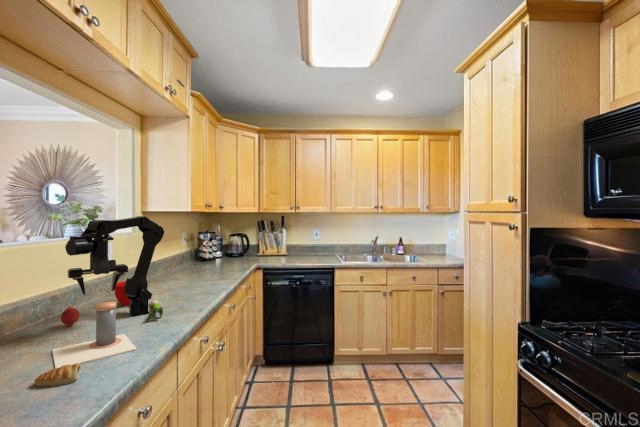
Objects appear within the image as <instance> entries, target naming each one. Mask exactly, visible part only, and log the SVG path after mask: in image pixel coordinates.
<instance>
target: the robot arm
mask: <svg viewBox="0 0 640 427" xmlns="http://www.w3.org/2000/svg"><path fill="white" fill-rule="evenodd" d="M135 227H137V228H138V230H139V231H140V232H141V233H142V241H143V245H142V249H141V252H140V254H139V258H138V261H137V263H136V267H135V270H134V273H133V276H132V277H130V278H126V280H125V281H126V284H125V286H124V288H125V289H124V293H125V294H126V295H127V298H128V299H130V300H131V303H130V304H129V306H128V312H129V314H130V315H131V316H132V317H136V316H141V315H147V314H148V315H149V314H150V311H149V301H150V300H152V297H153V293H152V292H151V291H149V290H148V287H149V286H148V284H149V283H148V280H147V277H148V276H147V275H148V273H149V269H150V265H151V262H152V260H153V256H154V254H155V249H156V247H157V246H158V244H159V243H160V242H162V239H163V237H164V235H165V230H164V228H163V226H161V225H159V224H158V223H157V222H155V221H154V220H153V221H152V220H151V219H150V218H148V217H147V216H143V215H142V216H141V215H139V216H138V215H137V216H134V217H126V218H120V219H115V220H109V219H92V220H90V221H89V222H88V224H87V227H86V228H85V230H83V232H82V233H81V235H80V236H74V235H73V236H69V240H67V242H66V244H65V251H66V253H67V254H66V255H69V256H79V255H80V256H81V255H88V254H89V268H88V269H85V268H84V269H83V268H82V267H74V268H69V269H68V270H67V278H68V279H72V280H74V281H77V283H78V285H79V288H80V290H81V293H82V295H83V296H86V290H85V283H84V282H85V281H84V277H83V275H84V276H85V275H93V274H94V275H96V276H97V275H99V276H100V275H103V274H105V275H106V274H107V275H108V274H110V273H111V272H112V281H111V291H112V292H115V291H114V289H115V286H116V284H117V283H118V281H119V280H120V278H121V276H124V275H125V274H126V273H129V266H127V264H126V263H119V264H118V263H117V261H116V259H110V260H109V241H114V239H115V238H114V237H112V236H111V235H110V234H112V233H115V232H116V231H118V230H122V229H128V228H129V229H130V228H135Z"/></svg>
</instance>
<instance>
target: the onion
mask: <svg viewBox="0 0 640 427" xmlns="http://www.w3.org/2000/svg"><path fill="white" fill-rule="evenodd" d="M80 315H81V314H80V311H79V310H78V309H77V308H75V307H74V306H73V304H72V305H69V306H68V307H67V308H66V309H65V310H64V311H63V312H61V315H60V322H61V323H62V324H63V325H64V326H68V327H72V326H74V324H76V323H77V322H78V321H79V319H80Z"/></svg>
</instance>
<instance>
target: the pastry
mask: <svg viewBox="0 0 640 427" xmlns="http://www.w3.org/2000/svg"><path fill="white" fill-rule="evenodd" d="M82 370H83V369H82V366H81V364H80V363H76V364H72V365H63V366H61V367H60V368H55V367H54V368H53V369H50V370H48V371H46V372H43V373H42V374H40V375H38V376H37V377H36V378H35V379H34V383H35V385H36V386H37V387H55V386H61V385H68V384H71V383H77V381H78V380H79V379H80V375H81V374H82V372H83V371H82Z"/></svg>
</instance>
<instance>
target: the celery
mask: <svg viewBox="0 0 640 427" xmlns="http://www.w3.org/2000/svg"><path fill="white" fill-rule="evenodd" d="M149 305H150V306H151V307H152V309H150V311H149V312H150V313H149V317H150V318H151V321H153V316H154V314H155V313H158V314H159V317H160V318H161V317H162V316H163V313H164V312H163V311H164V309H163V307H161V306H160V303H159V300H158V299H154V300H153V299H151V301H150V302H149ZM156 311H157V312H156Z"/></svg>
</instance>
